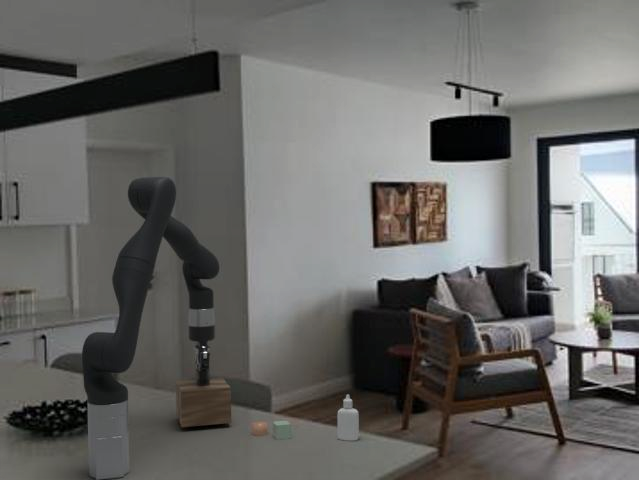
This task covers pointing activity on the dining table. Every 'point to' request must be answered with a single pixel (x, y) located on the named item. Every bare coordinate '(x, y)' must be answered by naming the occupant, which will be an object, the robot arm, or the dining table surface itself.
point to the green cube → (281, 429)
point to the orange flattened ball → (259, 428)
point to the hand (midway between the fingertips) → (202, 382)
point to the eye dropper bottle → (348, 421)
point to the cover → (203, 401)
